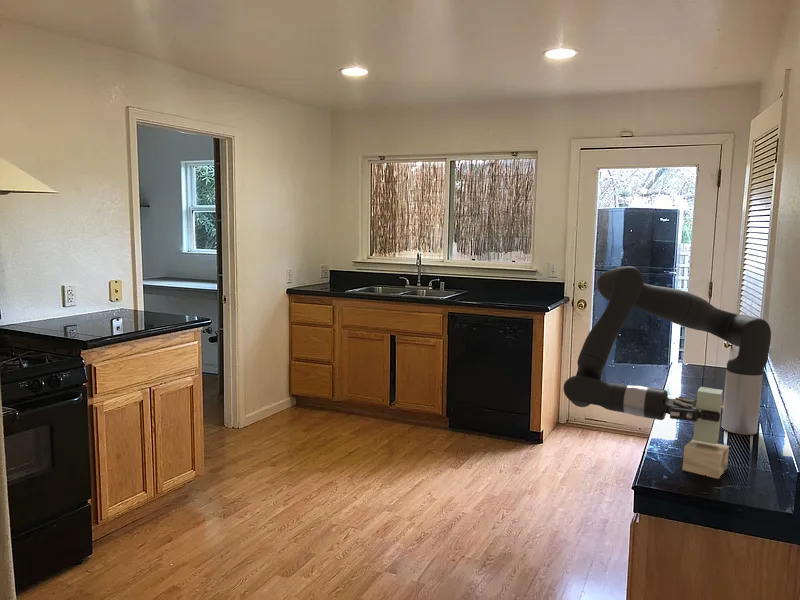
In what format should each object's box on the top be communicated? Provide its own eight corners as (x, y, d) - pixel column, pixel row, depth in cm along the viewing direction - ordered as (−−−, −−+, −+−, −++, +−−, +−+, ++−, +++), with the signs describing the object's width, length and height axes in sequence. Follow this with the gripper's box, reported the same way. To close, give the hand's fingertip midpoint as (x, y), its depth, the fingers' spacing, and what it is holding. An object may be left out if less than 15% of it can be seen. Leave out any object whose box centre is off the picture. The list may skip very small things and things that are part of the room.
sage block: (695, 434, 159) (700, 386, 157) (718, 438, 156) (723, 390, 155) (693, 440, 155) (697, 390, 153) (716, 444, 152) (721, 394, 151)
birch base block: (691, 461, 161) (693, 438, 161) (726, 470, 156) (729, 446, 156) (682, 470, 155) (684, 446, 154) (718, 479, 150) (720, 454, 150)
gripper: (640, 393, 155) (719, 405, 147) (652, 381, 168) (725, 392, 159) (638, 423, 156) (716, 437, 148) (649, 410, 168) (722, 422, 160)
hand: (720, 414), depth 153 cm, fingers closed on sage block, 5 cm apart
